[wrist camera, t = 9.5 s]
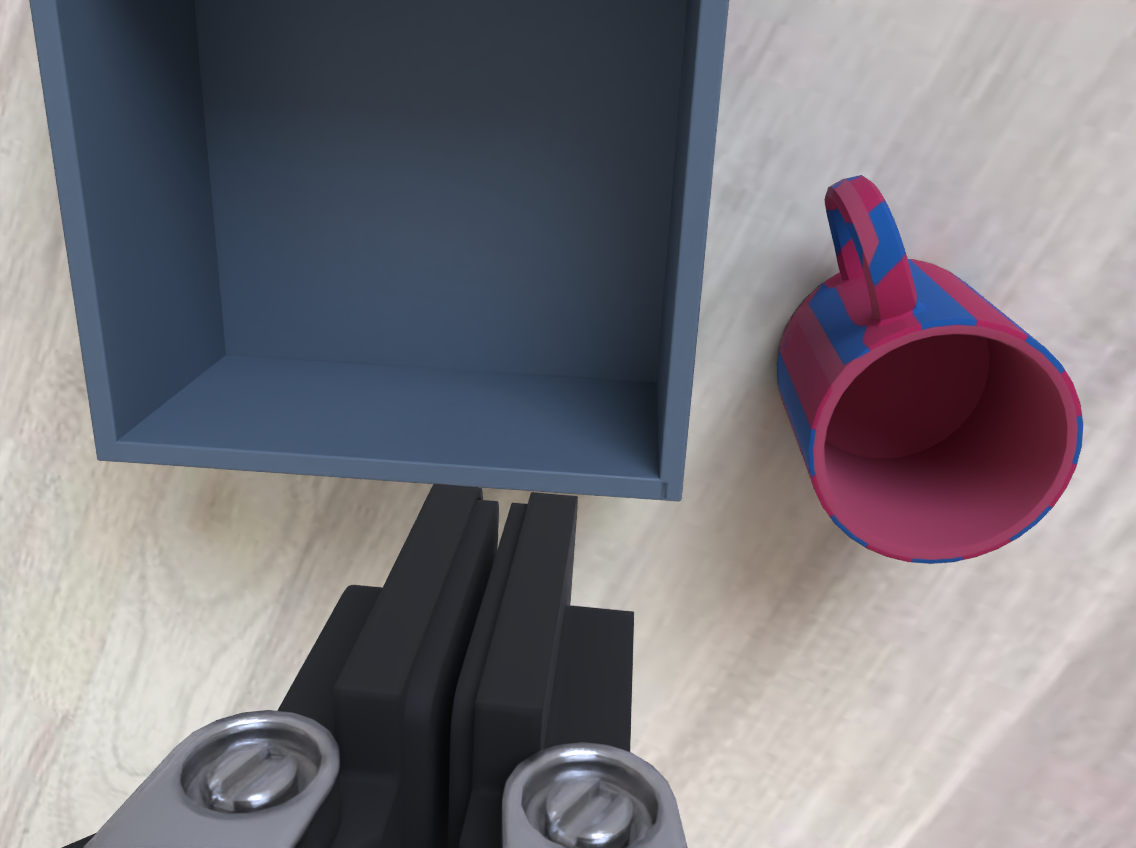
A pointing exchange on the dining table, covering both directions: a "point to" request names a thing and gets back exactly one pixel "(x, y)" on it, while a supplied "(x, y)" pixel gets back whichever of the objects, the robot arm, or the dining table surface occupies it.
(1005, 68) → the dining table surface
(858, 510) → the cup
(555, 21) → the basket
